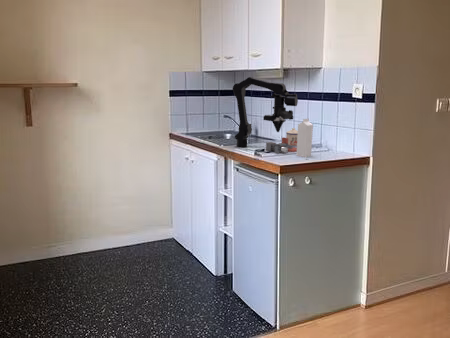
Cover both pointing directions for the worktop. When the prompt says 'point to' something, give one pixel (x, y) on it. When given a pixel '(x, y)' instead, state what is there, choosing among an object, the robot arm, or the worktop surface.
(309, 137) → the milk
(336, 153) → the worktop surface
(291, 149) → the handwheel
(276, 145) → the eye post
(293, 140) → the teacup with lid
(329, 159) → the worktop surface
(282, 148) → the grey rod with block
